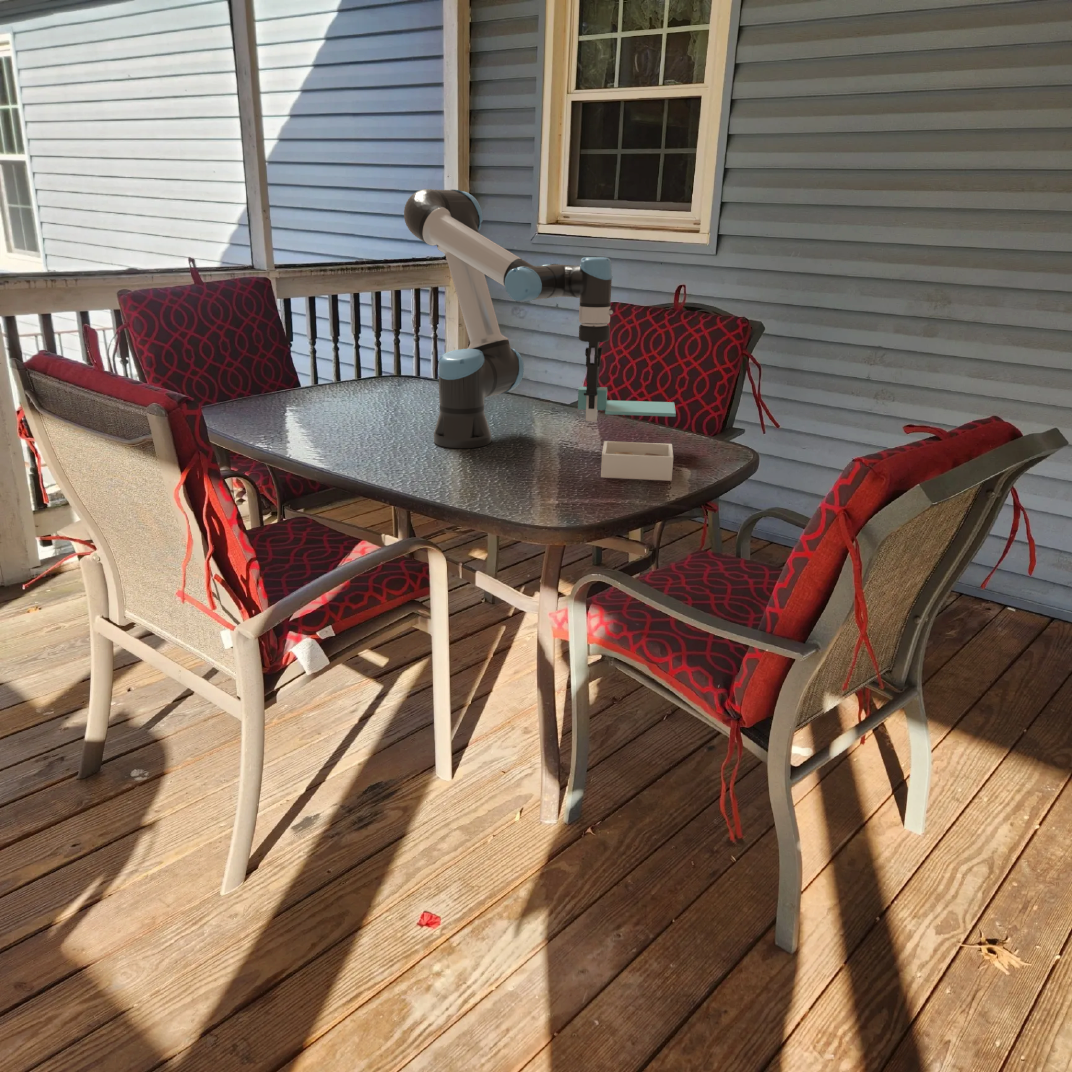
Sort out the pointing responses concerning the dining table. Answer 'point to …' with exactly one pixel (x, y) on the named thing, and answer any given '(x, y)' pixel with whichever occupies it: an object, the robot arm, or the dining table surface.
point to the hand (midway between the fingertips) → (591, 418)
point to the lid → (626, 405)
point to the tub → (637, 461)
